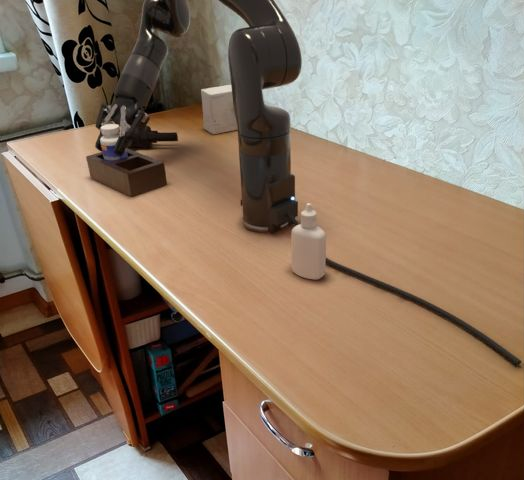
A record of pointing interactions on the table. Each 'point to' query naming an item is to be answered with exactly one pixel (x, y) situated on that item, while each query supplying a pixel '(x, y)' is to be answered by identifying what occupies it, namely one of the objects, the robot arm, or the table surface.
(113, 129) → the pill bottle
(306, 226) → the eye dropper bottle
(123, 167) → the rack
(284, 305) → the table surface
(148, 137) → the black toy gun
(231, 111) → the cosmetics box
